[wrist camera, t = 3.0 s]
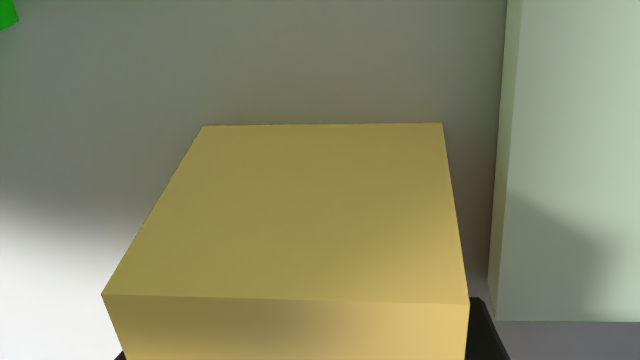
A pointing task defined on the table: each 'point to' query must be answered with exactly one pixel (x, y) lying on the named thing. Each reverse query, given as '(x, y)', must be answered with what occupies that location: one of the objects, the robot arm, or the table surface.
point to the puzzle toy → (7, 14)
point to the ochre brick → (298, 249)
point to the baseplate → (568, 164)
